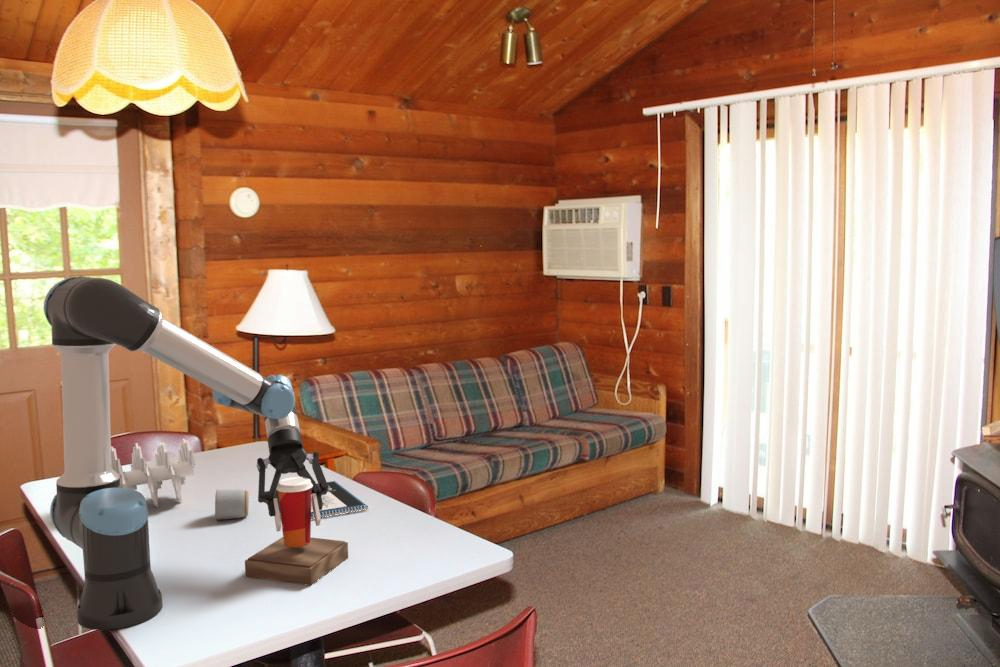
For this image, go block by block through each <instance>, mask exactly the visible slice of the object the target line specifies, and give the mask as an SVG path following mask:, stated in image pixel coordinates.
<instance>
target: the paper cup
mask: <svg viewBox="0 0 1000 667" xmlns="http://www.w3.org/2000/svg"><path fill="white" fill-rule="evenodd" d="M312 487H313V485H312V483H311V480H310V479H308V478H303V477H300V476H293V477H287V478H286V477H285V478H283V479H280V480H279V483H278V486H277V488H276V489H277V490H278V494H279V503H280V513H281V516H280V520H281V529H282V530H281V531H282V537H283V539H284V545H285V546H286V547H290V548H298V547H303V546H306V545H308V544H309V543H310V537H311V531H312V530H311V528H312V526H311V525H312V520H311V488H312Z"/></svg>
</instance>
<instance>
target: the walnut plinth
mask: <svg viewBox="0 0 1000 667" xmlns="http://www.w3.org/2000/svg"><path fill="white" fill-rule="evenodd" d="M348 558H349V543H348V541H345V540H336V539H328V538H318V537H311V536H310V543H309V544H308V545H306V546H303V547H298V548H290V547H286V546H285V545H284V539H283V536H282V537H280V538H279V539H277V540H275V541H274V542H272V543H271V544H269V545H267V546H266V547H264V548H263V549H261V550H260V551H259V550H258V551H257V552H255V554H253V555H251V556H250V557H248V558H247V559H245V560H244V572H245V573H244V574H245V578H251V579H259V580H266V581H274V582H280V583H281V582H283V583H288V584H296V583H297V584H298V585H304V584H307V585H306V586H311V585H312V584H313V583H314V584H316V583H317V582H318V581H319V580H318V579H320V578H321V577H322V576H323V575H325V574H326V573H327V572H329V571H330V570H331V571H333V570H334V569H336V568H337V567H338V566H340V565H341V564H342V563H343V562H345V561H346V560H348ZM336 566H337V567H336ZM333 568H334V569H333ZM332 569H333V570H332ZM331 571H330V572H331ZM330 572H329V573H330ZM327 574H328V573H327ZM327 574H326V575H327ZM326 575H325V576H326ZM322 578H323V577H322ZM322 578H321V579H322ZM321 579H320V580H321ZM317 580H318V581H317ZM316 581H317V582H316ZM315 582H316V583H315ZM314 584H313V585H314ZM313 585H312V586H313Z"/></svg>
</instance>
